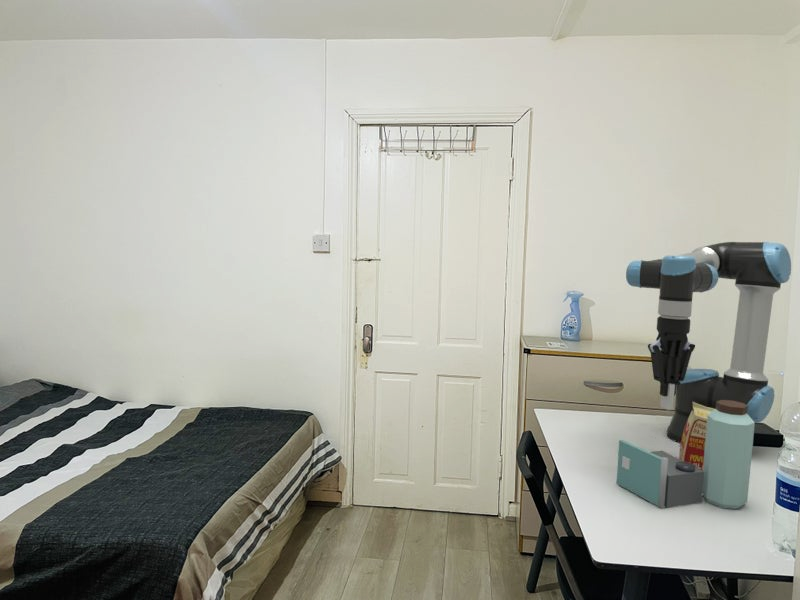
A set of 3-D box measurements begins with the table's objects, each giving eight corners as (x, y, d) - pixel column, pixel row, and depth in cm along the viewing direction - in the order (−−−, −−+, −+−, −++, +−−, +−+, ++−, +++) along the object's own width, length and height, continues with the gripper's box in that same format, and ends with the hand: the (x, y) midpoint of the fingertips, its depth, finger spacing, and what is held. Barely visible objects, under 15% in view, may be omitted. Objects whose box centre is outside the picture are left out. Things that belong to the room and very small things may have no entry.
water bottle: (746, 514, 133) (756, 412, 130) (699, 503, 138) (707, 405, 135) (746, 498, 141) (756, 402, 138) (702, 488, 146) (710, 395, 144)
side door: (665, 507, 135) (669, 459, 134) (660, 508, 134) (664, 459, 133) (620, 482, 148) (623, 438, 147) (615, 483, 148) (618, 439, 146)
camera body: (659, 478, 152) (662, 447, 151) (701, 502, 138) (704, 467, 137) (626, 483, 149) (628, 450, 148) (665, 507, 135) (668, 472, 134)
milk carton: (681, 476, 154) (687, 405, 152) (677, 463, 163) (682, 396, 160) (718, 481, 151) (725, 409, 149) (712, 468, 159) (718, 400, 157)
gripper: (683, 314, 146) (675, 402, 149) (642, 315, 142) (635, 405, 145) (706, 318, 139) (698, 410, 141) (663, 319, 135) (656, 414, 138)
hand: (666, 408), depth 143 cm, fingers closed
